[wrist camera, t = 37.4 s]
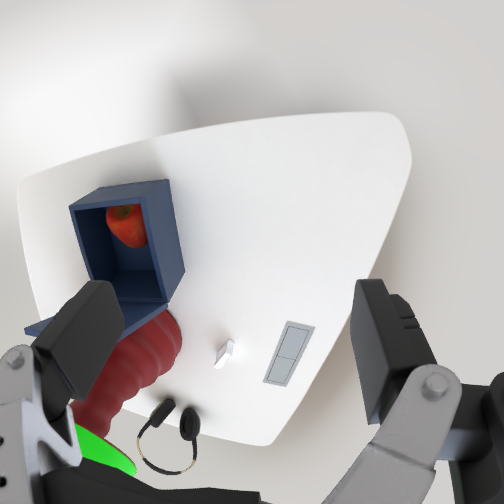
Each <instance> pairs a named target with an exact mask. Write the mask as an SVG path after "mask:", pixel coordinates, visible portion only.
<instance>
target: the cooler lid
mask: <svg viewBox="0 0 504 504" xmlns="http://www.w3.org/2000/svg"><path fill="white" fill-rule="evenodd" d="M118 303H119V305H120V308H121V311H122V314H123V316H124V323H125V325H124V331H123V334H122V335H121V337H120V339H119V341H121V340H122V339H123V338H125V337H126V336H128V335H129V334H131V333H132V332H133V331H135V330H136V329H138V328H139V327H141V326H142V325H144V324H145V323H146V322H148V321H149V320H151V319H152V318H154V317H155V316H157V315H158V314H159V313H161V312H162V311H164V310H165V309H167V308H168V304H167V302H142V301H120V300H118ZM53 317H54V316H53ZM53 317H50V318H48V319H45V320H43V321H40V322H38V323H36V324H33V325H31V326H28V327H26V328H24V330H25V334H26V335H30V336H34V337H38V335H39V334H40V333H41V332H42V331H43V329H44V328H45V327H46V326H47V324H48V323H49V322H50V321H51V320H53ZM119 341H118V342H119ZM118 342H117V343H118Z"/></svg>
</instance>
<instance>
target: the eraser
mask: <svg viewBox="0 0 504 504" xmlns="http://www.w3.org/2000/svg"><path fill="white" fill-rule="evenodd" d="M233 346H234V342H233V341H231V340H229V339H228V341H227V342H226V343H225V344H224V346H223V347H222V348H221V349H220V351H219V352H218V353H217V356H216V360H215V365H214V367H216V368H218V369H220V368H221V367H222V366H223V365H224V364H225V363H226V361H227V360H228V359H229V358H230V357H231V356H232V351H233Z"/></svg>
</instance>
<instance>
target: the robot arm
mask: <svg viewBox="0 0 504 504" xmlns="http://www.w3.org/2000/svg"><path fill="white" fill-rule="evenodd" d="M124 325H125V323H124V316H123V314H122V311H121V308H120V305H119V303H118V300H117V297H116V294H115V291H114V288H113V286H112V284H111V283H110V282H109V281H96V280H90V281H88V282H87V283H86V284H85V285H84V286H83V287H82V288H81V290H80V291H79V292H78V293H77V294H76V295H75V296H74V297H73V298H71V299H70V300H68V301H67V302H66V303H65V304H64V306H63V307H62V308H61V309H60V310H59V313H57V314H56V315H55V316H54V317H53V320H51V321H50V322H49V323H48V324H47V326H46V327H45V328H44V329H43V331H42V332H41V333H40V334H39V335H38V337H37V338H36V339H35V340H34V342H33V343H32V344H31V346H28V345H17V346H15V347H13V348H11V349H9V350H8V351H7V352H6V353H5V354H4V355H3V356H2V358H1V359H0V504H271V503H267V502H264V501H261V497H260V493H259V492H255V491H238V490H227V489H217V488H210V487H209V488H197V489H196V488H195V489H174V490H159V489H156V488H153V487H151V486H149V485H147V484H145V483H143V482H141V481H140V480H138V479H136V478H134V477H132V476H131V475H129V474H127V473H125V472H124V471H122V470H120V469H118V468H115V467H112V466H109V465H106V464H103V463H100V462H97V461H94V460H91V459H88V458H85V457H83V455H82V453H81V450H80V446H79V442H78V438H77V433H76V429H75V424H74V419H73V413H72V409H71V407H70V405H69V404H68V402H69V400H70V398H71V399H75V400H78V401H82V402H84V401H85V399H86V397H87V396H88V394H89V392H90V390H91V388H92V386H93V385H94V383H95V381H96V379H97V377H98V375H99V374H100V372H101V370H102V368H103V367H104V365H105V363H106V361H107V359H108V358H109V356H110V354H111V353H112V351H113V349H114V347H115V346H116V344H117V342H118V341H119V339H120V337H121V335H122V334H123V331H124ZM350 335H351V341H352V345H353V350H354V354H355V359H356V364H357V369H358V373H359V378H360V383H361V388H362V393H363V399H364V404H365V410H366V416H367V421H368V425H370V424H377V423H380V428H379V430H378V431H377V433H376V434H375V436H374V437H373V439H372V440H371V442H369V443H368V444H367V445H366V447H365V448H364V449H363V451H362V452H361V453H360V455H359V456H358V458H357V459H356V461H355V462H354V463H353V465H352V466H351V468H350V469H349V470H348V471H347V473H346V474H345V475H344V477H343V478H342V479H341V480H340V482H339V483H338V484H337V485H336V487H335V488H334V489H333V490H332V492H331V493H330V494H329V495H328V496H327V498H326V499H325V500H324V501H323V502H322V503H321V504H422V502H423V500H424V499H425V497H426V495H427V493H428V491H429V489H430V487H431V485H432V483H433V481H434V478H435V474H436V470H434V465H435V462H436V460H448V462H449V467H450V474H451V479H452V485H453V491H454V499H455V504H504V372H502V373H500V374H498V375H497V376H496V377H495V378H494V379H493V381H492V382H491V384H490V386H482V385H469V384H462V383H460V380H459V379H458V377H457V376H456V375H455V373H453V372H452V371H451V370H449V369H448V368H446V367H443V366H440V365H438V364H437V361H436V359H435V357H434V355H433V353H432V350H431V348H430V346H429V344H428V342H427V339H426V338H425V335H424V333H423V331H422V329H421V328H420V325H419V323H418V321H417V319H416V318H415V315H414V313H413V311H412V309H411V307H410V305H409V304H408V303H407V302H406V301H405V300H404V299H403V298H402V297H400V296H399V295H398V294H391V295H389V293H388V291H387V289H386V287H385V285H384V283H383V281H382V279H359V280H357V281H356V285H355V292H354V299H353V307H352V314H351V321H350Z"/></svg>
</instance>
